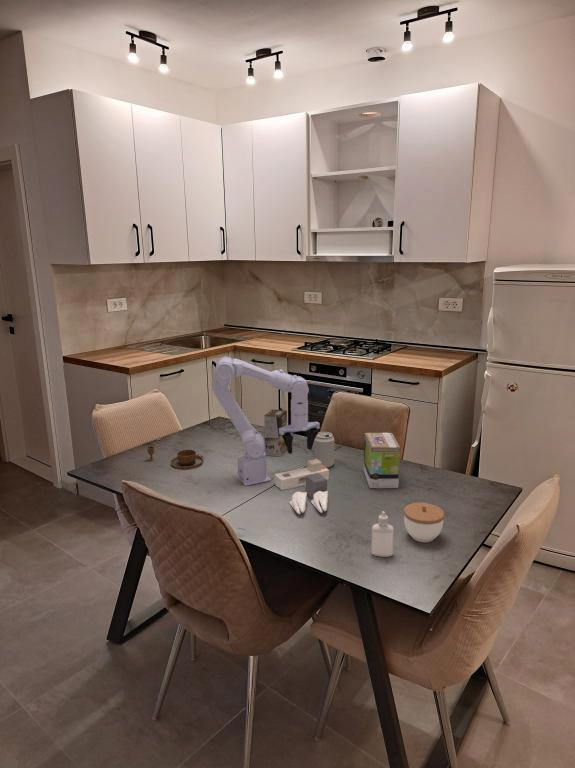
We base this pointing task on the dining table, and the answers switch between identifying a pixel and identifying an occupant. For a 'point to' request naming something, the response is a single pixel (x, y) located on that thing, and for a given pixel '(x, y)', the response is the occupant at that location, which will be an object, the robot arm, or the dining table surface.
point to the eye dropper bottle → (382, 537)
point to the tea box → (381, 460)
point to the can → (324, 448)
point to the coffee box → (275, 432)
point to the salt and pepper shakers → (319, 497)
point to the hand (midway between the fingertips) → (299, 450)
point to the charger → (315, 484)
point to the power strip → (297, 477)
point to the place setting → (181, 458)
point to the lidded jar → (423, 521)
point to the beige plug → (314, 465)
